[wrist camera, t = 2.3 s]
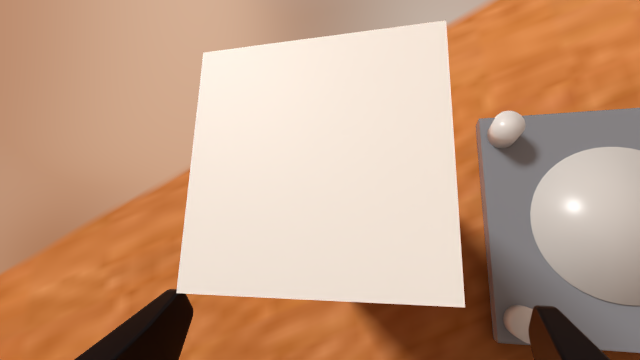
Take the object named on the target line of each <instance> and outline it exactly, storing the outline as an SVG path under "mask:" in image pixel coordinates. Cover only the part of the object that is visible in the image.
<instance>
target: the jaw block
mask: <svg viewBox="0 0 640 360" xmlns="http://www.w3.org/2000/svg"><path fill="white" fill-rule="evenodd" d="M176 293H183V294H204V295H224V296H244V297H264V298H284V299H304V300H324V301H345V302H365V303H385V304H405V305H425V306H445V307H465V298H464V283H463V268H462V253H461V238H460V223H459V208H458V193H457V178H456V163H455V148H454V133H453V118H452V103H451V88H450V73H449V59H448V44H447V29H446V21H439V22H431V23H423V24H417V25H408V26H401V27H393V28H386V29H378V30H371V31H363V32H356V33H348V34H341V35H333V36H326V37H318V38H310V39H303V40H295V41H288V42H280V43H273V44H265V45H259V46H250V47H243V48H235V49H228V50H220V51H213V52H206V53H203V61H202V70H201V79H200V88H199V97H198V106H197V115H196V124H195V132H194V141H193V151H192V159H191V168H190V177H189V186H188V195H187V203H186V212H185V221H184V230H183V239H182V248H181V257H180V266H179V274H178V283H177V292H176Z"/></svg>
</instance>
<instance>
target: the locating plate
mask: <svg viewBox="0 0 640 360" xmlns="http://www.w3.org/2000/svg"><path fill="white" fill-rule="evenodd" d="M476 135H477V147H478V159H479V171H480V184H481V196H482V208H483V220H484V232H485V244H486V256H487V268H488V280H489V292H490V304H491V316H492V329H493V339H494V340H495V341H497V342H498V343H507V344H521V345H531V344H530V340H529V332H528V329H529V324H530V319H531V315H532V310H533V308H534V306H536V305H548V306H554V307H556V308H558V309H559V310H560V311H561V312H562V313H563V314H564V315H565V316H566V317H567V318H568V319H569V320H570V321H571V322H572V323H573V324H574V325H575V326H576V327H577V328H578V329H579V330H580V331H582V332H583V333H584V334H585V335H586V336H587V337H588V338H589V339H590V340H591V341H592V342H593V343H594V344H595V345H596V346H597V347H598V348H599V349H600V350H606V351H620V352H635V353H640V108H631V109H616V110H602V111H587V112H573V113H558V114H543V115H529V116H521V115H520V114H518V113H516V112H514V111H504V112H501V113H500V114H498V115H497V116H496V117H495V118H485V119H479V120H478V122H477V124H476Z"/></svg>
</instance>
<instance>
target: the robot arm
mask: <svg viewBox="0 0 640 360" xmlns="http://www.w3.org/2000/svg"><path fill="white" fill-rule="evenodd" d="M176 292H177V289H169V290H167V291H165V292H164V293H163V294H161V295H160V296H159V297H157V298H156V299H155V300H153V301H152V302H151V303H149V304H148V305H147V306H145V307H144V308H143V309H141V310H140V311H139V312H137V313H136V314H135V315H133V316H132V317H131V318H129V319H128V320H127V321H125V322H124V323H123V324H121V325H120V326H119V327H117V328H116V329H115V330H113V331H112V332H111V333H109V334H108V335H107V336H105V337H104V338H103V339H101V340H100V341H99V342H97V343H96V344H95V345H93V346H92V347H91V348H89V349H88V350H87V351H85V352H84V353H83V354H81V355H80V356H79V357H77V358H76V359H75V360H179V357H180V354H181V351H182V348H183V345H184V342H185V339H186V335H187V332H188V329H189V326H190V323H191V320H192V317H193V308H192V305H191V303H190V301H189V299H188V297H187V296H186V294H183V293H176ZM528 332H529V340H530V344H531V348H532V353H533V357H534V360H610V359H609V358H608V357H607V356H606V355H605V354H604V353H603V352H602V351H601V350H600V349H599V348H598V347H597V346H596V345H595V344H594V343H593V342H592V341H591V340H590V339H589V338H588V337H587V336H586V335H585V334H584V333H583V332H582V331H580V330H579V329H578V328H577V327H576V326H575V325H574V324H573V323H572V322H571V321H570V320H569V319H568V318H567V317H566V316H565V315H564V314H563V313H562V312H561V311H560V310H559V309H558V308H556V307H554V306H548V305H536V306H534V308H533V310H532V315H531V319H530V324H529V329H528Z"/></svg>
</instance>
